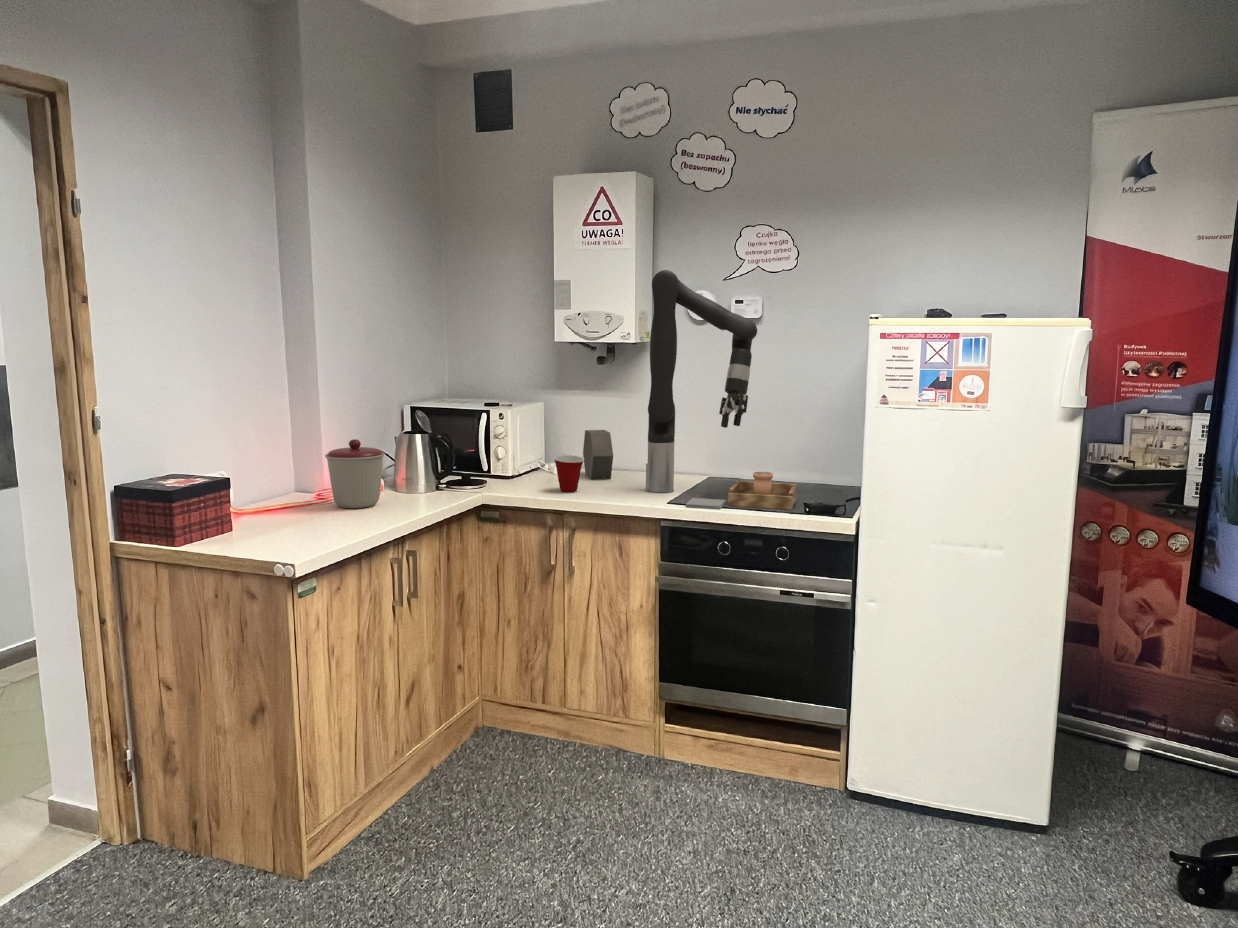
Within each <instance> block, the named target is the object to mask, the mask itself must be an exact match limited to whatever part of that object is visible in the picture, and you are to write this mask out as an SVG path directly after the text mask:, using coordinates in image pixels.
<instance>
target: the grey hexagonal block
mask: <svg viewBox="0 0 1238 928" xmlns="http://www.w3.org/2000/svg"><path fill="white" fill-rule="evenodd" d="M583 439H584V440H583V449H582V456H583V457H582V458H584V459H585V460H584V461H583V464H584V466H583V467H584V472H585V473H584V474H585V476H586V477H587V476H588V477H587V478H589V479H590V480H606V479H607V480H609V479H610V478H612V470H613V462H614V451H613V449H614V448H613V443H612V435H611V432H610V431H608V430H605V429H585V430H584V438H583ZM610 480H611V479H610Z"/></svg>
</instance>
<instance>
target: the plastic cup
mask: <svg viewBox="0 0 1238 928" xmlns="http://www.w3.org/2000/svg"><path fill="white" fill-rule="evenodd" d="M553 460H554V463H555V467H556V474H557V481H558V485H559V486H558V487H559V490H560V492H561V491H562V493H576V492H577V490H578V488H579V482H580V476H581V471H582V467H583V464H584V460H585V459H584V457H582V456H578V455H571V454H568V455H567V454H563V455H562V454H561V455H560V454H559V455H555V456H553ZM575 491H576V492H575Z"/></svg>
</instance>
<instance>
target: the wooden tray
mask: <svg viewBox="0 0 1238 928" xmlns="http://www.w3.org/2000/svg"><path fill="white" fill-rule="evenodd" d="M727 497H728V498H727V506H728V507H743V508H757V509H758V508H761V509H772V510H773V509H774V510H775V509H776V510H793V508H794V506H795V503H796V501H797V483H785V482H784V483H782V482H780V483H779V482H772V487H771V495H758V494H754V481H741V480H735V483H734V484H733V485H732V486H731V487H730V488H729V490H728V494H727Z"/></svg>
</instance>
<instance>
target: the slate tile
mask: <svg viewBox="0 0 1238 928" xmlns="http://www.w3.org/2000/svg"><path fill="white" fill-rule="evenodd" d="M726 503H727V501H726V499H713V498H700V497H699V498H698V497H692V498H691V499H690V500H689V501H688V502H686V503H685V508H691V509H692V508H693V509H709V510H712V509H713V510H721V509H722V508H723V507H724V506H725V504H726Z"/></svg>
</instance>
